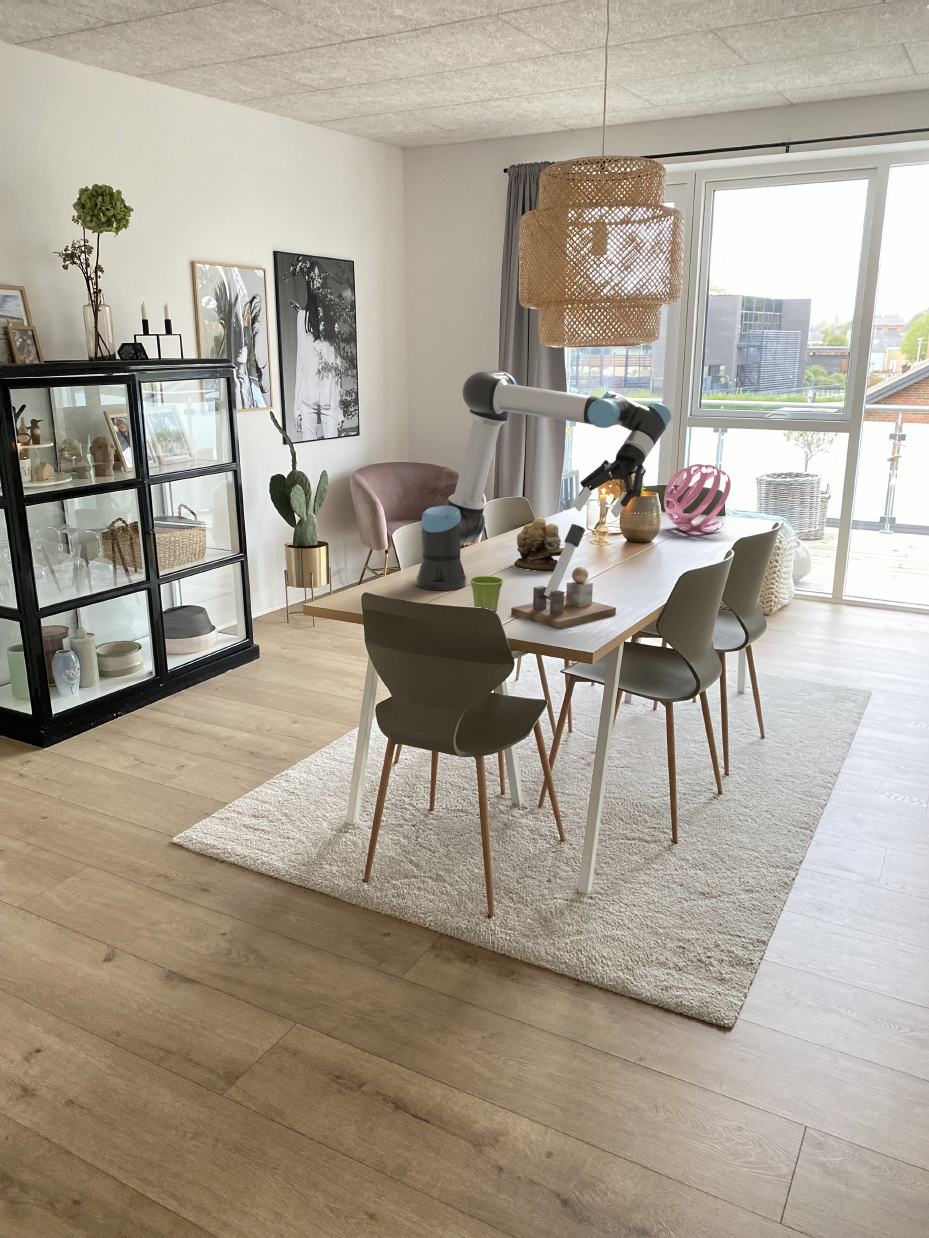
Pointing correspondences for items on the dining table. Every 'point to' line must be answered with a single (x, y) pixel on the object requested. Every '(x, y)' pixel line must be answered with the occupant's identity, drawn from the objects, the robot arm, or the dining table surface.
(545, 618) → the base
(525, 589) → the dining table surface
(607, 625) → the dining table surface
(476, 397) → the robot arm
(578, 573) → the wooden ball
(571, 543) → the lever
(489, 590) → the plant pot
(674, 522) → the spiral basket
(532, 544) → the brown lumpy mound
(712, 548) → the dining table surface
